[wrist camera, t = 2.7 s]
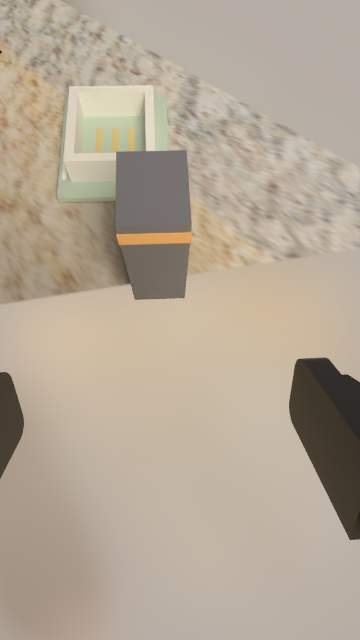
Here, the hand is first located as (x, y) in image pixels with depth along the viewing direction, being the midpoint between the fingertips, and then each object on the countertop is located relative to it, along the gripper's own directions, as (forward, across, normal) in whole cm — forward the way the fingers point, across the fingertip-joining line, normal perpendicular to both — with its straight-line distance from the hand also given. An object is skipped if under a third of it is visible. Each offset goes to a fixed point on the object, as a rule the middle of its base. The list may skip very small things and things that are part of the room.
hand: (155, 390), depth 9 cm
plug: (+19, 0, +2) cm, 19 cm away
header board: (+28, +4, -7) cm, 29 cm away
